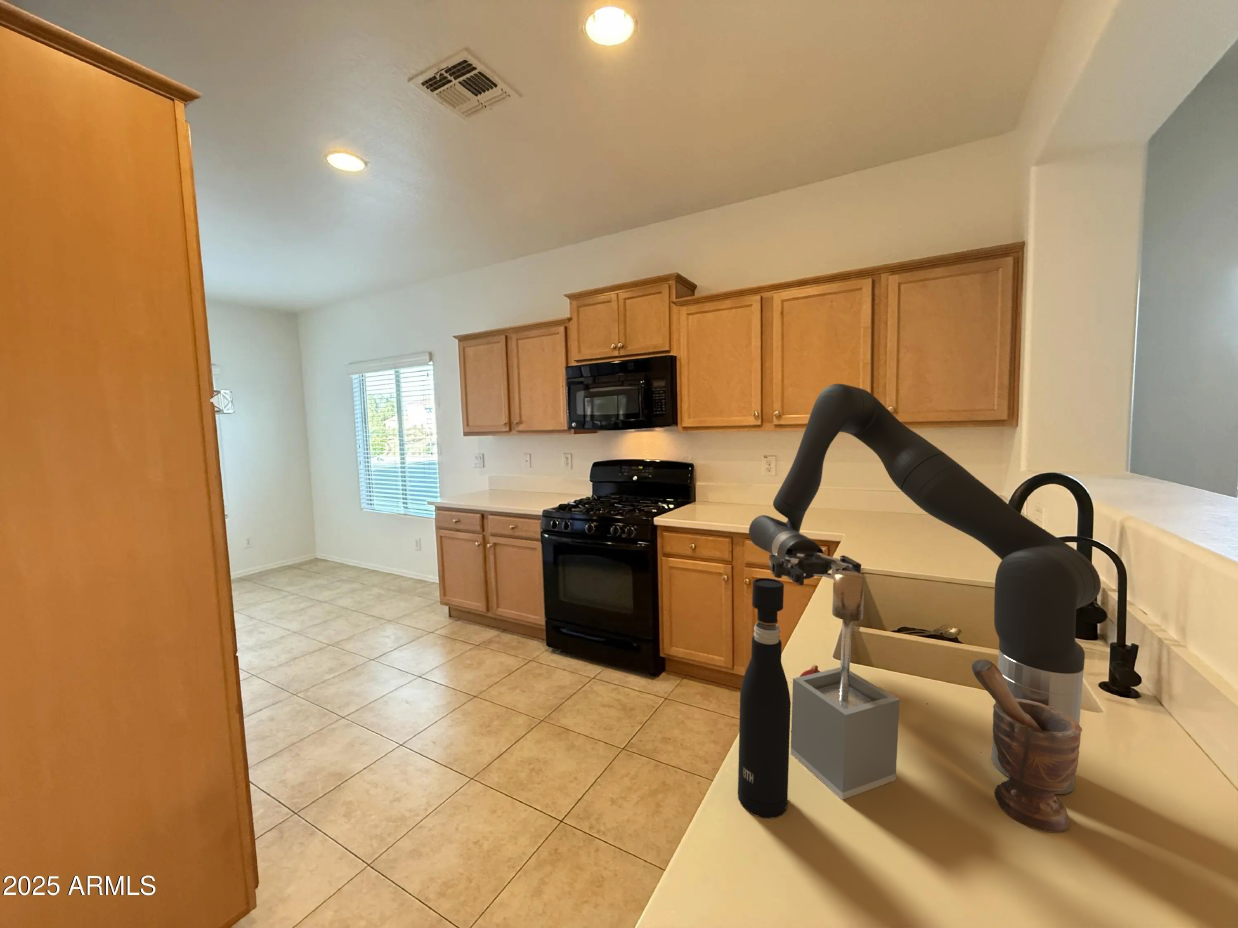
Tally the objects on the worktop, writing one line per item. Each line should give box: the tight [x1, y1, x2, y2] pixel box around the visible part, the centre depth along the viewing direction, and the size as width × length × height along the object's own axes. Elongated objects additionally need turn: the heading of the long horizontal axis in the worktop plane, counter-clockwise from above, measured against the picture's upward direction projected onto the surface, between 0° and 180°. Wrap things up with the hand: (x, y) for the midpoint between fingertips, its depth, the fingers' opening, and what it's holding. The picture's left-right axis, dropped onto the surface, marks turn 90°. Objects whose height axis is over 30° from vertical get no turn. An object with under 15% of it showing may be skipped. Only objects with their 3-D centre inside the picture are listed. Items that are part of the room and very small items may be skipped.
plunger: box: [816, 571, 873, 709], centre depth 70 cm, size 7×7×19 cm
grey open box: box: [790, 666, 901, 800], centre depth 71 cm, size 10×10×12 cm
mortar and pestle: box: [971, 658, 1083, 833], centre depth 63 cm, size 12×9×20 cm
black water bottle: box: [737, 577, 792, 819], centre depth 64 cm, size 6×6×30 cm
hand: (829, 579), depth 77 cm, fingers open, 8 cm apart
